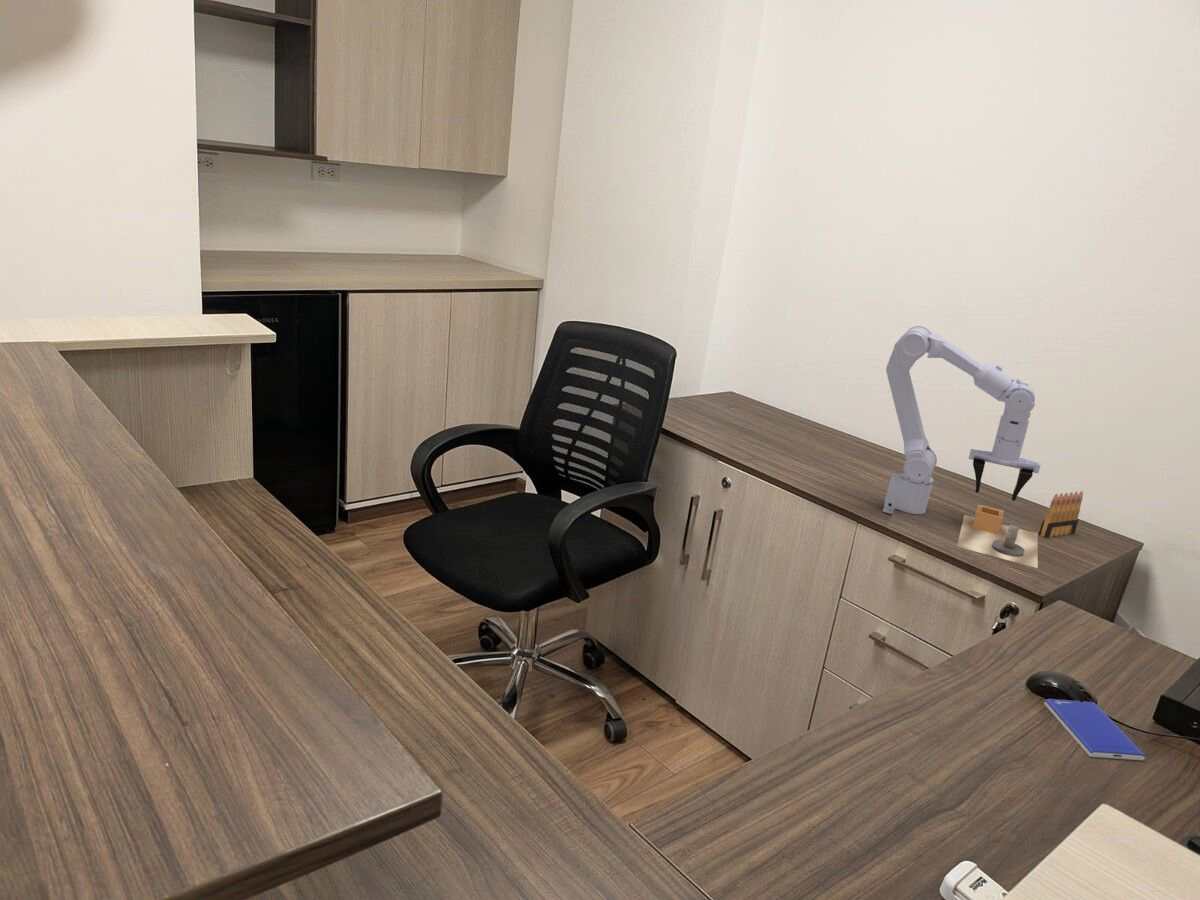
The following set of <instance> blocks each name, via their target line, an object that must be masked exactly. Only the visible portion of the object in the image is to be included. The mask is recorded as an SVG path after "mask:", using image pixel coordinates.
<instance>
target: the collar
mask: <svg viewBox="0 0 1200 900" xmlns="http://www.w3.org/2000/svg"><path fill="white" fill-rule="evenodd" d="M1004 512H1005V511H1004V510H1002V509H998V508H993V507H990V506H985V505H981V504H977V507H976V511H975V514H974V516H973V517H974V521H973V526H972V528H974V529H978V530H982V531H986V532H990V533H994V534H997V535H998V534H999V531H1000V527H1001V524H1002V523H1003V520H1004Z"/></svg>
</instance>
